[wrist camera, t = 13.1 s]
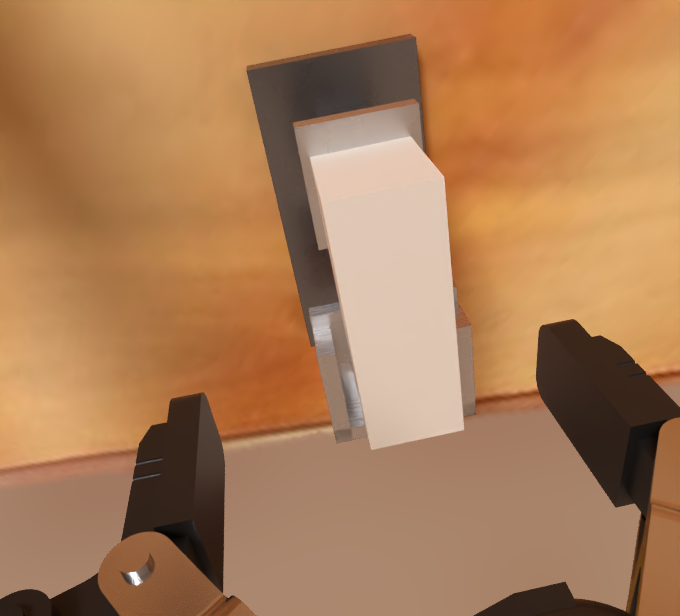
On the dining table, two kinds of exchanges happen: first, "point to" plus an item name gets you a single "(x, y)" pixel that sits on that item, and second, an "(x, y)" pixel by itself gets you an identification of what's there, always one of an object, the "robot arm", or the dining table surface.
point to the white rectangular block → (394, 286)
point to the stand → (300, 191)
